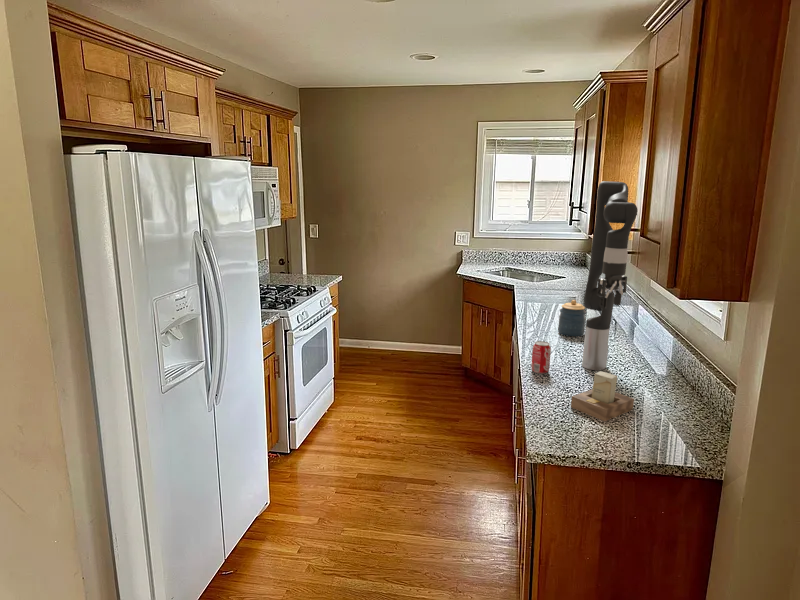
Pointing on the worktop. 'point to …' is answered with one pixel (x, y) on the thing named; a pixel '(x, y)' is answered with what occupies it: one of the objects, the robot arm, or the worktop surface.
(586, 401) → the brown square frame block
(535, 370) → the soda can
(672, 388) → the worktop surface
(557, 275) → the worktop surface
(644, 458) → the worktop surface
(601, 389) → the skincare box
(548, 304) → the worktop surface
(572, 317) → the canister
